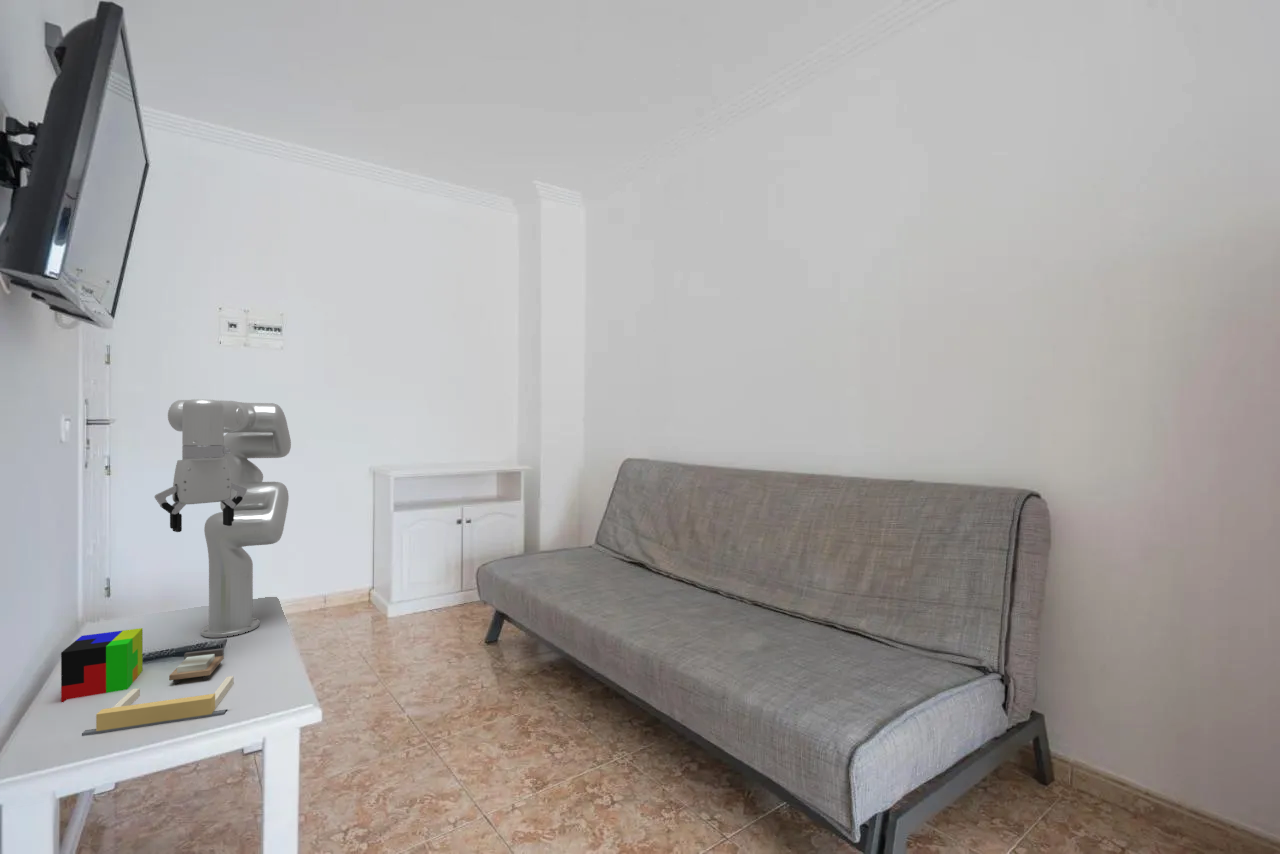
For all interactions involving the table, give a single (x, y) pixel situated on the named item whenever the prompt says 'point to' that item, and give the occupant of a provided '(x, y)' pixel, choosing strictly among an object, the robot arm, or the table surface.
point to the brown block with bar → (198, 664)
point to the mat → (158, 710)
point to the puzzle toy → (101, 663)
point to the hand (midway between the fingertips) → (203, 528)
